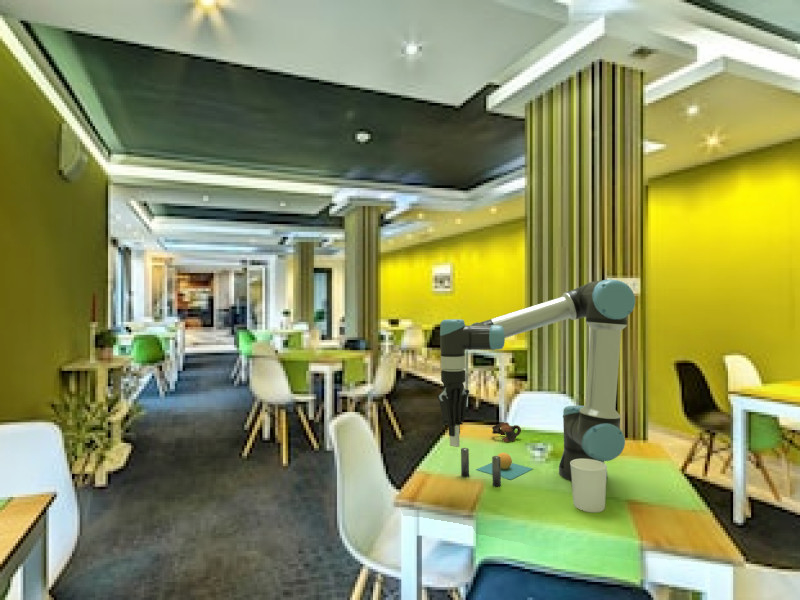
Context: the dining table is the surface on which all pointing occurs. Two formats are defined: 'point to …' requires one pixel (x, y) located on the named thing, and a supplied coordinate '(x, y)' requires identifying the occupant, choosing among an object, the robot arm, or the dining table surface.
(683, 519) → the dining table surface
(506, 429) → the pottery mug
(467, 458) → the left post
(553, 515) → the dining table surface
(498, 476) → the right post
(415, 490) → the dining table surface
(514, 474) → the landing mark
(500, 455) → the ball
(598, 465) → the candle holder
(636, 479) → the dining table surface
